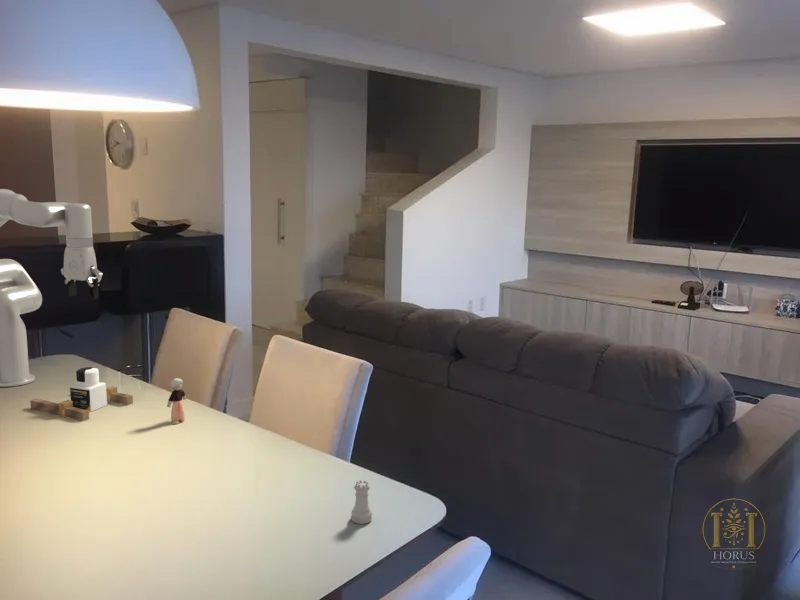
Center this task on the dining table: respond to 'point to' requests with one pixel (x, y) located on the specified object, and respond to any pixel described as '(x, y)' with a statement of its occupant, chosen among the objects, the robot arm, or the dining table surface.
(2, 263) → the robot arm
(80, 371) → the medicine bottle
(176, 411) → the grandmother figurine
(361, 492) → the rook chess piece
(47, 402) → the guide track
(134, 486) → the dining table surface
